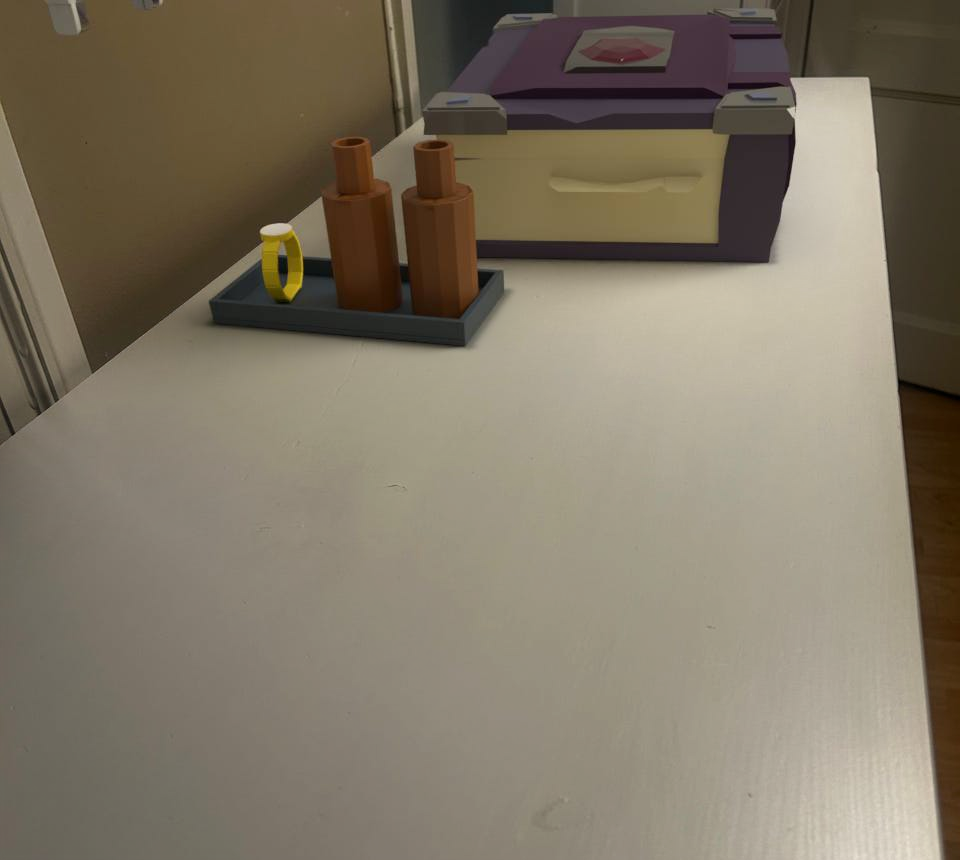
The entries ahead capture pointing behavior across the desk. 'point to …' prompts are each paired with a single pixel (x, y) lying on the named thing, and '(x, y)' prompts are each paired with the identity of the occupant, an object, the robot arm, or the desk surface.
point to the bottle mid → (361, 231)
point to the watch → (270, 261)
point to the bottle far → (439, 234)
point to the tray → (322, 314)
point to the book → (625, 136)
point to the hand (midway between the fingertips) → (113, 20)
